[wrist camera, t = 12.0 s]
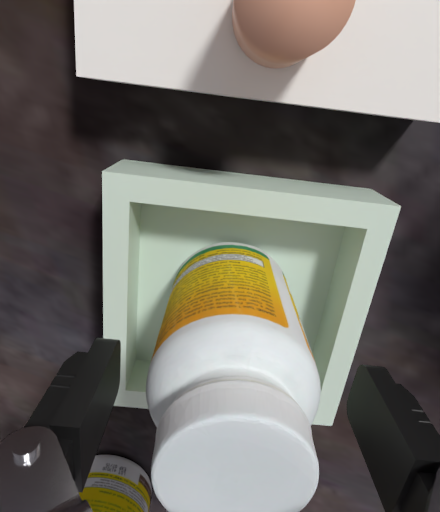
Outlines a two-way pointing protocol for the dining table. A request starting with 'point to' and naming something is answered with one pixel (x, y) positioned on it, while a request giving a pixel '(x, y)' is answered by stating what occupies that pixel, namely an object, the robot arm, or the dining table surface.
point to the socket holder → (271, 51)
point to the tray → (247, 232)
